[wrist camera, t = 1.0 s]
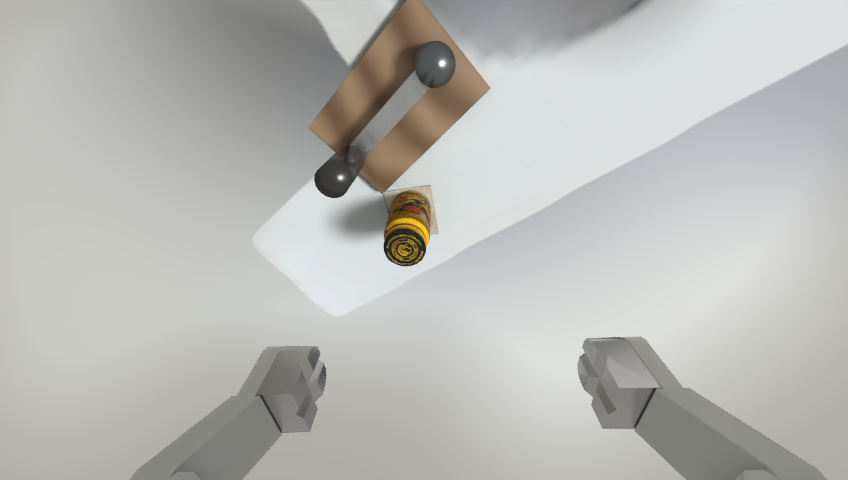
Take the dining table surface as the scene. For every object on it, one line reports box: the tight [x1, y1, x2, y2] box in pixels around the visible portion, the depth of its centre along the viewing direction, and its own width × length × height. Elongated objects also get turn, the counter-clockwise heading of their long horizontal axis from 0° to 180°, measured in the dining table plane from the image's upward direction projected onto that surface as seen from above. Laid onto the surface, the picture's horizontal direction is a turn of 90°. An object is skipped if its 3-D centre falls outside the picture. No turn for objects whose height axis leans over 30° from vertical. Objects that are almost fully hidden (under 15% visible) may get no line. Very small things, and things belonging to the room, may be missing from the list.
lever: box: [314, 41, 456, 198], centre depth 33 cm, size 19×4×10 cm, turn 135°
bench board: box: [309, 0, 490, 194], centre depth 39 cm, size 20×13×2 cm, turn 135°
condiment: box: [383, 185, 439, 266], centre depth 43 cm, size 7×8×12 cm
